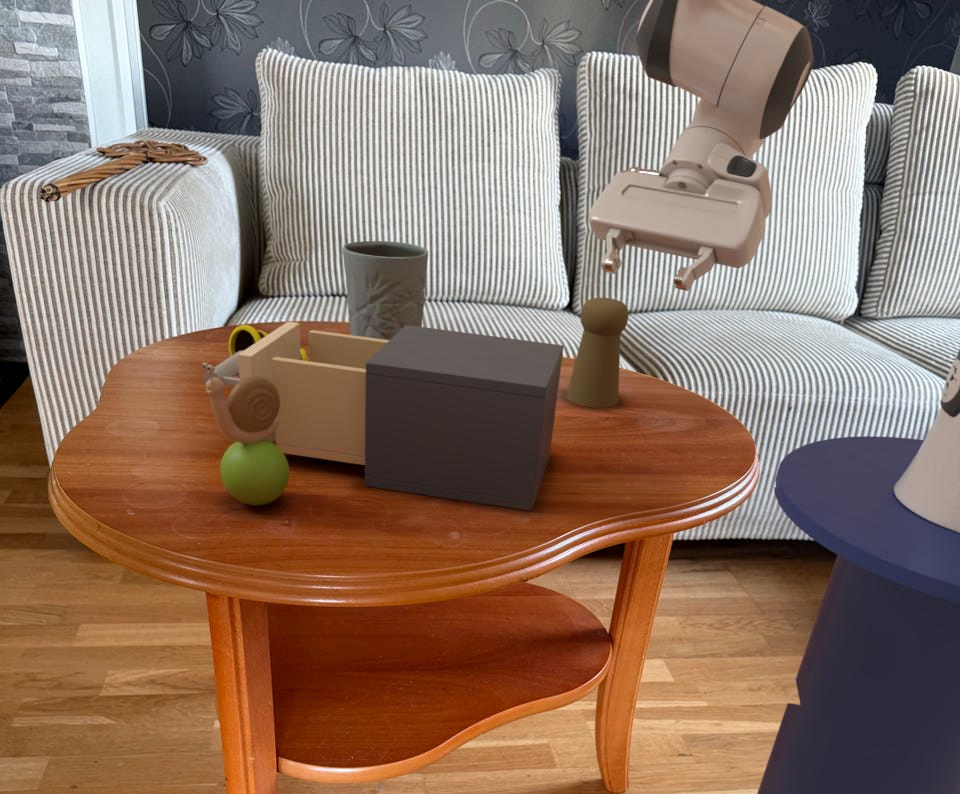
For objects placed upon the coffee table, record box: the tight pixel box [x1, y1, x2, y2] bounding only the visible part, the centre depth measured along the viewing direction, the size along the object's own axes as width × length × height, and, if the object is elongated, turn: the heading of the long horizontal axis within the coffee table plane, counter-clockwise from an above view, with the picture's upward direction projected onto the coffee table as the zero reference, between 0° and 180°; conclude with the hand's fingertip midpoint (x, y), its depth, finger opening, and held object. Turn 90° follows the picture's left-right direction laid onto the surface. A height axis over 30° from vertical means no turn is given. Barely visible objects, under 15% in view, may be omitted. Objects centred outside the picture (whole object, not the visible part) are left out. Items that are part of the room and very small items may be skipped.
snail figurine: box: [201, 361, 290, 506], centre depth 71 cm, size 5×6×12 cm
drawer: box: [203, 321, 389, 466], centre depth 82 cm, size 18×12×9 cm, turn 79°
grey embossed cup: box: [342, 240, 429, 340], centre depth 110 cm, size 10×10×12 cm
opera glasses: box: [228, 324, 308, 361], centre depth 100 cm, size 10×5×5 cm, turn 38°
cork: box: [565, 297, 629, 409], centre depth 100 cm, size 6×6×11 cm
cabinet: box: [364, 325, 564, 512], centre depth 80 cm, size 15×13×11 cm
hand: (643, 278), depth 102 cm, fingers open, 8 cm apart
